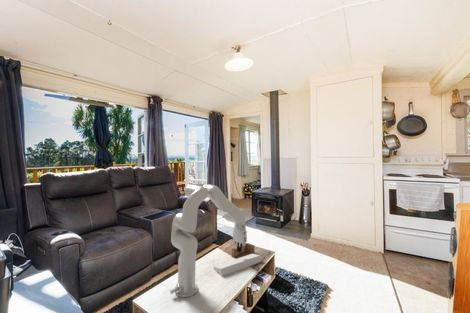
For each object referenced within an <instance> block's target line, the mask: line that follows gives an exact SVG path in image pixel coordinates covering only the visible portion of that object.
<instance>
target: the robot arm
mask: <svg viewBox="0 0 470 313" xmlns="http://www.w3.org/2000/svg"><path fill="white" fill-rule="evenodd" d="M184 188H185V189H184V194H185V197H187V198H186V200H185V201H184V203H183V206H182V212H178V213H177V214H175V216H174V217H173V220H172V224H171V234H170V236H171V237H170V242H171V244H172V246H173V247H175V248H176V249H178V250H179V252H180V254H179V256H178V263H177V264H178V265H177V266H178V269H177V270H178V272H177V273H178V274H177V276H178V277H177V283H176V286H175V287H174V288H172V289H170V290H169V292H170V294H171V295H172V294H174V295H176V296H177V297H179V298H189V297H192V296H194V295H196V294H197V292H198V290H199V289H198V288H199V287H198V285H197V283H196V255H197V249H198V244H199V242H198V239H197V238H196V237H195V236H194V235H191V233H194V232H195V231H196V228H197V224H198V211H199V206H200V205H201V204H202V203H203V201H205V200H206V199H207V198H208V199H210V200H211V202H212V203H213V204H214V205H215V207H216V208H217V209H218V210H220V211H222V212H224V213H223V214H224V216H223V217H224V219H225V220H226V221H228V222H230V223H233V224H234V227H233V232H232V241H233V242H234V243H235V247H237V252H241V250H242V245H246V243H248V237H247V236H248V234H247V229H246V228H247V226H246V209H244V208H239V207H238V206H237V205H236V204H234V203H233V202H232V201H231V200H230V199H228V198H227V196H226V195H225V194H224V193H223V192H222V190H221V189H220V187H218V185H215V184H209V183H191V184H188V185H187V186H186V187H184Z"/></svg>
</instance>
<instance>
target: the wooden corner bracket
mask: <svg viewBox="0 0 470 313" xmlns="http://www.w3.org/2000/svg"><path fill="white" fill-rule="evenodd" d="M245 243H246V245H242V250H241V252H237V246H235V247H233V248H232V249H231V257H232V258H233V257H234V258H235V256H236V257H237V256H240V255H241V254H244V252H248V253H250V254H255V245H254V244H251V243H249V242H245Z"/></svg>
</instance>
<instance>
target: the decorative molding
mask: <svg viewBox="0 0 470 313" xmlns="http://www.w3.org/2000/svg"><path fill="white" fill-rule="evenodd" d="M259 263H262V256H261V254H256V253H250V254H247V255H244V256H241V257H237V258H235V259H232V260H229V261H226V262H223V263H220V264H217V265H213V270H215V272H217V273H218V275H219V276H221V277H225V276H226V275H230V274H232V273H235V272H238V271H240V270H243V269H245V268H248V267H251V266H255V265H256V264H259Z"/></svg>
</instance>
